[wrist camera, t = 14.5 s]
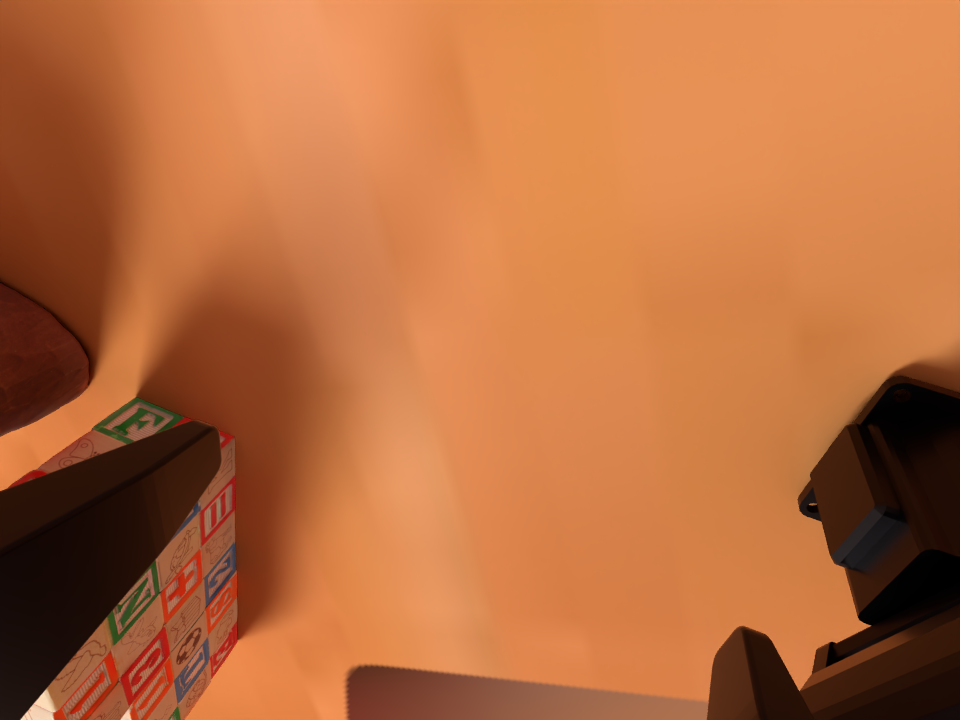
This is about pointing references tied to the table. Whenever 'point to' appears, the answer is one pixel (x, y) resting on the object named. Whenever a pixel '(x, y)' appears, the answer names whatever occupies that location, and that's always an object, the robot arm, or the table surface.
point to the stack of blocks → (155, 599)
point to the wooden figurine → (35, 362)
